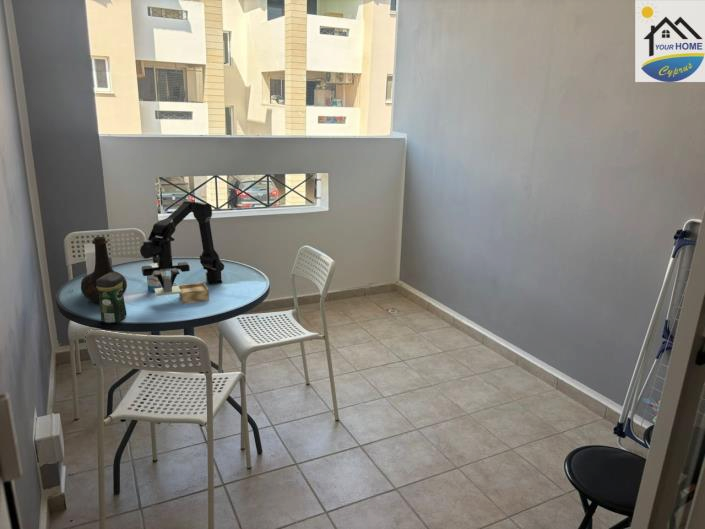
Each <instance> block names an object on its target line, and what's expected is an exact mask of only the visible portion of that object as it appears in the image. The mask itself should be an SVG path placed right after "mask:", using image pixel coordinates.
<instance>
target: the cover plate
mask: <svg viewBox="0 0 705 529" xmlns="http://www.w3.org/2000/svg"><path fill="white" fill-rule="evenodd" d="M162 280H163V284H164V289H163V288H156V289H154V291H155V292H154V295H156V297H161V296H169V295H177V294H179V293H181V290H180V288H179V285H173V286H172V284H171V275H166V276H162Z"/></svg>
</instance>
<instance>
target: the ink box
mask: <svg viewBox="0 0 705 529" xmlns="http://www.w3.org/2000/svg"><path fill="white" fill-rule="evenodd" d="M150 265H151V266H152V268H154V267H158V265H157V263H153V262H152V263H150V264H148V265H147V266H150ZM160 273H161V275H162V276H167V271H160ZM146 280H147V291H148V292H153V293H155V291H154V289H156V288H162V285H161V283H160V281H159V279H158V278H157V277H154V275H153V274H152V275H150V276H146Z"/></svg>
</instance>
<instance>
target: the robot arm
mask: <svg viewBox="0 0 705 529" xmlns="http://www.w3.org/2000/svg"><path fill="white" fill-rule="evenodd" d="M190 213H192V214H193V218H195V219H196V221H197V223H198V226H199V233H200V240H201V244H202V245H201V246H202V250H203V251H202V252H201V254H200V255H199V261H200V264H201V266H202V268H203V270H206V272H205V281H206V282H207V283H208V284H209V285H213V284H220V283H223V280H222V272H223V271H224V269H225V264H224V263H223V262H222V261H221V259H220V256H219V253H217V250H215V246H214V241H213V235H212V234H213V233H212V229H211V222H210V221H211V219H212V216H213V207H212V205H211V204H210V203H207V202H200V201H199V202H198V201H194V200H184V201H182V204H181V205H179V207H177V208H176V209H175V210H174V211H172V213H171V214H169V216H168V217H166V218H164V219H161V220H159V221H157V222H156V223H154V224H153V226H152V228H151V231H150V233H149V236H148V237H147V241H143V242H142V245H141V246H140V250H139V252H140V255H141V257H142V258H143V259H146V260H147V259H151V258H152V264H153V263H157V265H158V267H154V268H152V266H151V265H150V264H149V265H150V266H148V265H144V266H143V265H142V266H141V273H142V276H143V277H147V276H150V275H152V274H153V275H154V277H157V278H158V279H159V281H160V283H161V285H162V288H163V289H164V284H163V280H162V275H161V273H160V271H166V272H170V278H171V284H172V286H174V283H175V280H176V278H177V276H178V275H179V274H180V272H182V273H184V272H185V273H186V272H190V270H191V269H190V264H189V263H188V262H187V261H181V262H177V264H176V265H174V264H173V254H172V251H173V250H172V242H173V241H175V240H176V239H175V238H173V237H172V235H173V234H174V233H175V232H176V227H177V226H178V225H179V224H180V223H181V222H182V221H184V219H186V217H188V215H190Z"/></svg>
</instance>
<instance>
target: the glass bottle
mask: <svg viewBox="0 0 705 529" xmlns="http://www.w3.org/2000/svg"><path fill="white" fill-rule="evenodd" d="M108 243H109V240H106V237H105V236H95V237H94V238H93V240H92V242H91V244H95V269H94V272H93V273H91V274H89V275H86V276H84V277H83V278H82V279H81V281H80V283H81V284H80V291H81V293H82V295H83V296H84V297H85V298H86V299H87V300H89V301H91V302H92V303H98V304H100V298H99V292H98V289H97V282H96V280H97V279H99V278H100V277H102V276H104V275H106V274H108V273H119V274H120V275H121V277H122V289H123V295H124V294H125V293H126V291H127V287H128V282H127V279H126V277H125V276H124V275H123V274H122V273H120V272H117V271H115V270H114V269H113V267H112V264H111V262H110V261H111V260H110V257H109V253H108V247H107V244H108Z"/></svg>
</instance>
